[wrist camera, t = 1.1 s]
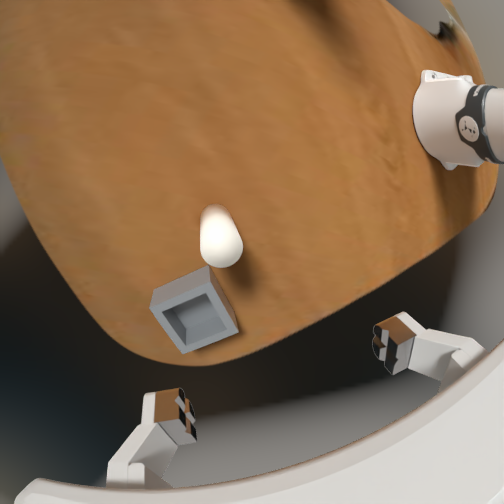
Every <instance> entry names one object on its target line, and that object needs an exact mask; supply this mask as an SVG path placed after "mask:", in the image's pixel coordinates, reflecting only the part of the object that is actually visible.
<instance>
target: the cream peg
mask: <svg viewBox="0 0 504 504" xmlns="http://www.w3.org/2000/svg"><path fill="white" fill-rule="evenodd" d="M200 250H201V255H202V257H203V259H204V260H205V261H206V262H207V263H208V264H210V265H211V266H214V267H218V268H224V267H228V266H231V265H233V264H234V263H235V262H237V261H238V259H239V258H240V256H241V254H242V251H243V243H242V240H241V238H240V235H239V233H238V231H237V229H236V226H235V224H234V222H233V219H232V217H231V215H230V213H229V211H228V209H227V208H226V207H225V206H223V205H221V204H211V205H208V206H207V207H205V208H204V210H203V211H202V213H201V216H200Z"/></svg>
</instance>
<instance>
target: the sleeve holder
mask: <svg viewBox="0 0 504 504" xmlns="http://www.w3.org/2000/svg"><path fill="white" fill-rule="evenodd" d="M149 309H150V310H151V312H152V313H153V314H154V316H155V317H156V319H157V320H158V322H159V323H160V324H161V326H162V327H163V329H164V330H165V331H166V333H167V334H168V335H169V337H170V338H171V339H172V341H173V342H174V343H175V345H176V346H177V347H178V349H179V350H180V351H181V353H182V354H185V353H188V352H190V351H193V350H195V349H198V348H201V347H203V346H206V345H208V344H211V343H214V342H216V341H219V340H221V339H224V338H226V337H228V336H231V335H233V334H236V333H238V332H239V331H238V326H237V322H236V318H235V313H234V311H233V309H232V307H231V305H230V304H229V302H228V300H227V298H226V296H225V294H224V293H223V291H222V289H221V287H220V285H219V283H218V281H217V279H216V278H215V276H214V274H213V272H212V270H211V268H210V266H209V265H207V266H205V267H203V268H200V269H198V270H196V271H194V272H192V273H189V274H187V275H185V276H183V277H181V278H178V279H176V280H174V281H172V282H169V283H167V284H165V285H163V286H161V287H158V288H156V289H154V292H153V295H152V299H151V303H150V307H149Z"/></svg>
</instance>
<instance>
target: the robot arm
mask: <svg viewBox="0 0 504 504" xmlns="http://www.w3.org/2000/svg"><path fill="white" fill-rule="evenodd" d="M413 119H414V124H415V128H416V132H417V135H418V137H419V139H420V141H421V143H422V145H423V147H424V148H425V149H426V151H427V152H428V153H429V154H430V155H432V156H433V157H435V158H437V159H438V160H440V161H441V163H442V165H443V166H444V167H445V169H447V170H453V169H454V168H455V167H457V166H458V165H465V166H473V167H479V166H480V165H481V164H482V163H483V162H484V161H488V162H490V163H494V164H504V89H503V88H502V89H501V88H497V87H495V86H490V85H476V84H473V81H472V77H471V76H458V77H456V76H452V75H448V74H444V73H440V72H436V71H431V70H423V71H422V75H421V84H420V86H419V88H418V90H417V92H416V94H415V97H414V102H413ZM373 333H374V334H375V335H376V336H375V337H374V339H373V343H372V344H373V345H372V346H373V350H374V353H375V355H376V356H377V357H378V359H380V360H383V361H385V365H384V366H385V367H386V368H387V369H388V371H389V372H390V373H391V374H392V375H394V374H396V373H398V372H400V371H402V370H404V369H405V368H407V367H408V368H409V369H412V370H414V371H417V372H419V373H422V374H424V375H426V376H429V377H431V378H434V379H437V380H439V381H442V382H441V384H440V387H439V389H438V394H437V395H436V396H434V397H433V398H431V399H430V400H428V401H427V402H425V403H424V404H422V405H420V406H419V407H417V408H416V409H414V410H412V411H411V412H409V413H408V414H406V415H404V416H402V417H401V418H399V419H398V420H395V421H394V422H392V423H390V424H388V425H386V426H385V427H383V428H381V429H379V430H377V431H375V432H373V433H371V434H369V435H367V436H365V437H363V438H361V439H359V440H356V441H354V442H352V443H350V444H347V445H345V446H343V447H341V448H338V449H336V450H333V451H331V452H328V453H326V454H323V455H320V456H318V457H315V458H312V459H309V460H307V461H304V462H301V463H298V464H295V465H292V466H288V467H285V468H281V469H278V470H275V471H271V472H268V473H263V474H259V475H255V476H251V477H246V478H242V479H237V480H231V481H226V482H220V483H214V484H207V485H199V486H190V487H179V488H173V487H172V486H171V485H170V484H169V483H167V482H166V481H164V480H163V479H162V476H163V474H164V472H165V470H166V468H167V466H168V465H169V463H170V461H171V459H172V457H173V455H174V453H175V451H176V449H177V447H178V446H177V445H183V444H189V443H194V442H197V435H196V428H195V427H194V426H193V423H194V421H195V414H194V410H193V407H192V405H191V403H190V401H189V400H188V399H185V394H184V392H183V390H182V389H181V388H176V389H171V390H165V391H158V392H152V393H146V394H145V396H144V401H143V411H142V423H141V425H138V426H137V427H136V428H135V430H134V431H133V433H132V434H131V435H130V436H129V438H128V439H127V440H126V441H125V442H124V444H123V445H122V446H121V447H120V449H119V450H118V451H117V452H116V454H115V455H114V456H113V457H112V459H111V460H110V461H109V463H108V472H107V483H106V488H102V487H92V486H83V485H75V484H69V483H63V482H58V481H53V480H48V479H44V478H37V479H35V480H34V481H32V482H31V483H30V484H29V485H28V486H27V487H26V488H25V489H24V490H23V491H22V492H21V493H20V494H19V495H18V496H17V497H16V500H15V502H14V504H504V339H503V340H502V341H501V342H500V343H499V344H498V345H497V346H496V347H495V348H493V350H491V352H488V351H487V350H486V349H484V348H483V347H482V346H481V345H480V344H479V343H477V342H476V341H475V340H474V339H472V338H469V337H464V336H459V335H454V334H450V333H445V332H440V331H436V330H431V329H428V330H425V329H424V328H423V327H422V326H421V325H420V324H418V323H417V322H416V321H415V320H414V319H412V318H411V317H410V316H409V315H408V314H407V313H405V312H401V313H399V314H397V315H395V316H393V317H391V318H389V319H387V320H385V321H383V322H381V323H378V324H376V325H375V326H374V329H373Z"/></svg>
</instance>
